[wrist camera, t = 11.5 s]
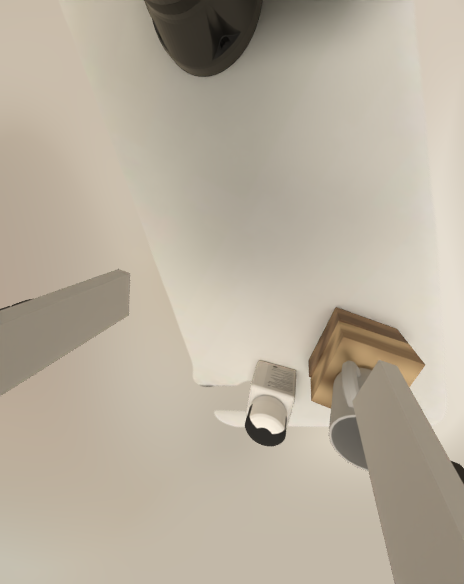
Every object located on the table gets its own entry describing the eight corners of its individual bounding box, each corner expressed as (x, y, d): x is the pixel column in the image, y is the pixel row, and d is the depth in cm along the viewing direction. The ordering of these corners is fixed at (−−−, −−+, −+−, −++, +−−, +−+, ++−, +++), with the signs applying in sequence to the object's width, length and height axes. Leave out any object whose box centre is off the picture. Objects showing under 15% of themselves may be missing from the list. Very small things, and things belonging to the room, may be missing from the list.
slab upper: (338, 320, 35) (343, 336, 30) (408, 343, 33) (425, 364, 28) (310, 379, 39) (311, 400, 35) (370, 402, 37) (379, 428, 33)
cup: (342, 411, 33) (340, 468, 26) (319, 351, 32) (310, 392, 25) (401, 411, 30) (419, 478, 22) (377, 343, 29) (387, 389, 21)
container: (289, 399, 48) (284, 459, 36) (253, 388, 50) (237, 442, 38) (296, 369, 45) (293, 425, 33) (258, 359, 47) (243, 408, 35)
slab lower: (335, 306, 39) (339, 318, 35) (396, 328, 37) (409, 344, 33) (308, 359, 44) (309, 376, 39) (361, 381, 42) (368, 401, 37)
